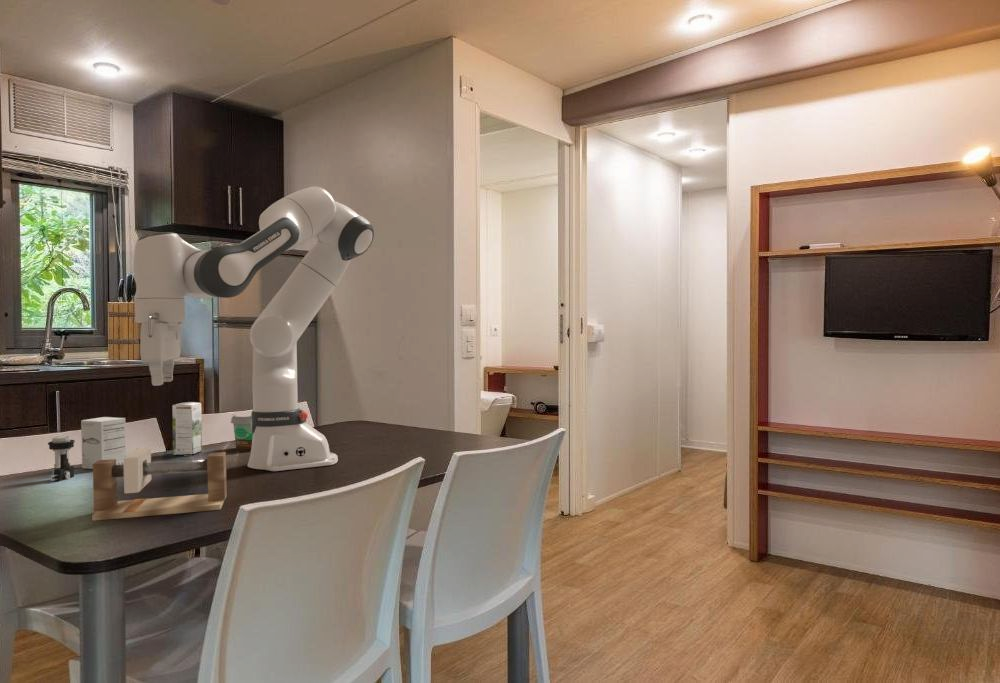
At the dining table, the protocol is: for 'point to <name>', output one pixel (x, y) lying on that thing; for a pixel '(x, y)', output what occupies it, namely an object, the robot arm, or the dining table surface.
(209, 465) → the rod stand
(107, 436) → the supplement box
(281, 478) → the dining table surface
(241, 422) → the food container
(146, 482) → the collar
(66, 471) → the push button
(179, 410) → the syrup box
